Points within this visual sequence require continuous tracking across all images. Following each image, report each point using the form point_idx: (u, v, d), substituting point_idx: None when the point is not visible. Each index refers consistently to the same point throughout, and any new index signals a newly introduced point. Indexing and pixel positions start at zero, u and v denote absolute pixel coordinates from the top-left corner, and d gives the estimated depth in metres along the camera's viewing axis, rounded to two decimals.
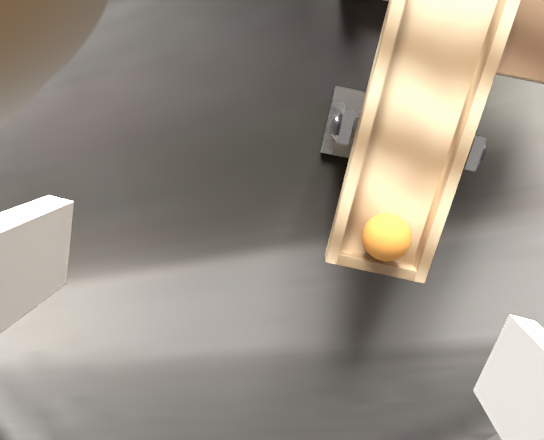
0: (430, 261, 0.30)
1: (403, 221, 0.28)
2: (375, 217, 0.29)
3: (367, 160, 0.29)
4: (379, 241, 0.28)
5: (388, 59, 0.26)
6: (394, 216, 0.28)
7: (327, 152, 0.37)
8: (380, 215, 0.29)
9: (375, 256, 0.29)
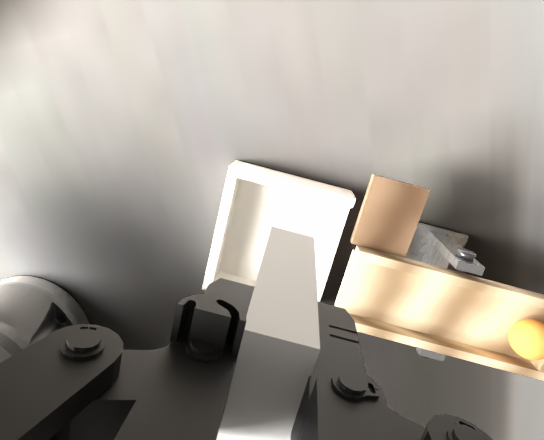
0: None
1: (520, 331, 0.35)
2: (512, 346, 0.36)
3: (459, 337, 0.38)
4: (536, 357, 0.34)
5: (391, 333, 0.37)
6: (514, 336, 0.35)
7: None
8: (511, 343, 0.36)
9: None
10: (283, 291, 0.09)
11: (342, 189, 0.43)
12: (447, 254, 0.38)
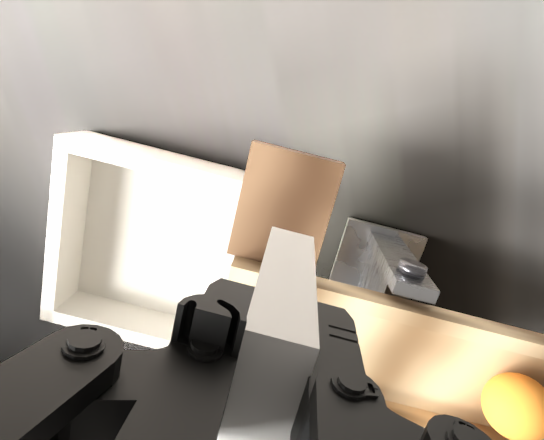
0: None
1: (499, 396, 0.21)
2: (486, 417, 0.22)
3: (406, 397, 0.24)
4: None
5: None
6: (489, 402, 0.22)
7: None
8: (484, 412, 0.22)
9: None
10: (283, 291, 0.09)
11: (240, 171, 0.29)
12: (385, 268, 0.24)
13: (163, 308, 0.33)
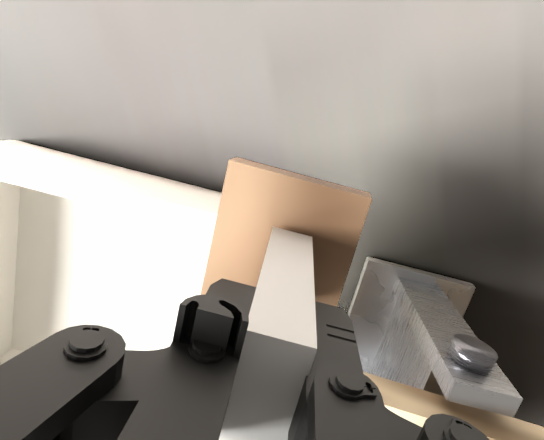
0: None
1: None
2: None
3: None
4: None
5: None
6: None
7: None
8: None
9: None
10: (285, 291, 0.09)
11: (219, 196, 0.21)
12: (428, 347, 0.16)
13: None
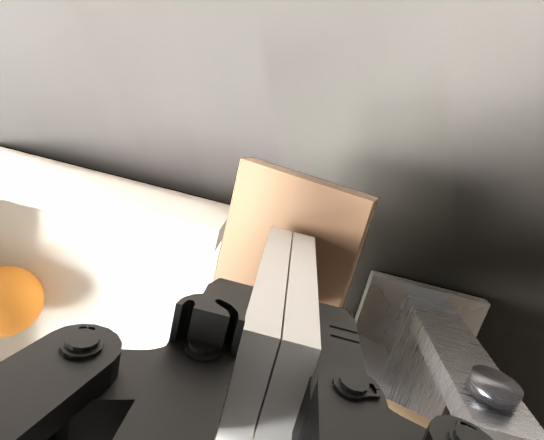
0: None
1: None
2: None
3: None
4: (22, 328, 0.20)
5: None
6: None
7: None
8: None
9: None
10: (282, 291, 0.09)
11: (210, 205, 0.19)
12: (443, 379, 0.14)
13: None
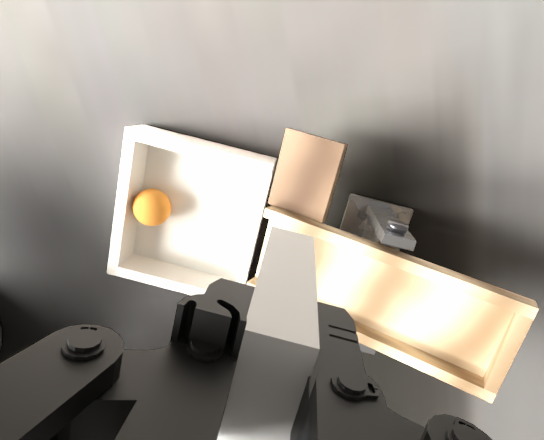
0: (507, 298, 0.26)
1: (142, 203, 0.36)
2: (139, 220, 0.37)
3: (389, 328, 0.31)
4: (161, 221, 0.37)
5: None
6: (138, 209, 0.36)
7: None
8: (137, 217, 0.37)
9: None
10: (283, 291, 0.09)
11: (264, 156, 0.37)
12: (377, 227, 0.32)
13: (201, 267, 0.41)
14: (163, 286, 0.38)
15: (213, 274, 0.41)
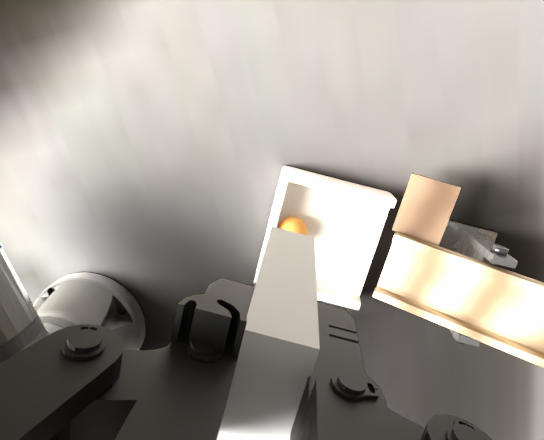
0: None
1: (291, 229, 0.46)
2: None
3: (491, 327, 0.41)
4: None
5: (421, 310, 0.42)
6: None
7: None
8: None
9: None
10: (283, 291, 0.09)
11: (382, 191, 0.47)
12: (482, 249, 0.42)
13: (321, 278, 0.51)
14: None
15: (331, 283, 0.51)
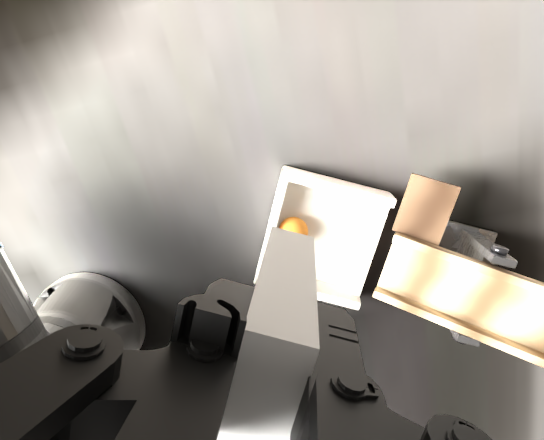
0: None
1: (293, 230, 0.46)
2: None
3: (491, 327, 0.41)
4: None
5: (421, 310, 0.42)
6: None
7: None
8: None
9: None
10: (283, 291, 0.09)
11: (382, 191, 0.47)
12: (482, 249, 0.42)
13: (321, 278, 0.51)
14: None
15: (331, 283, 0.51)
